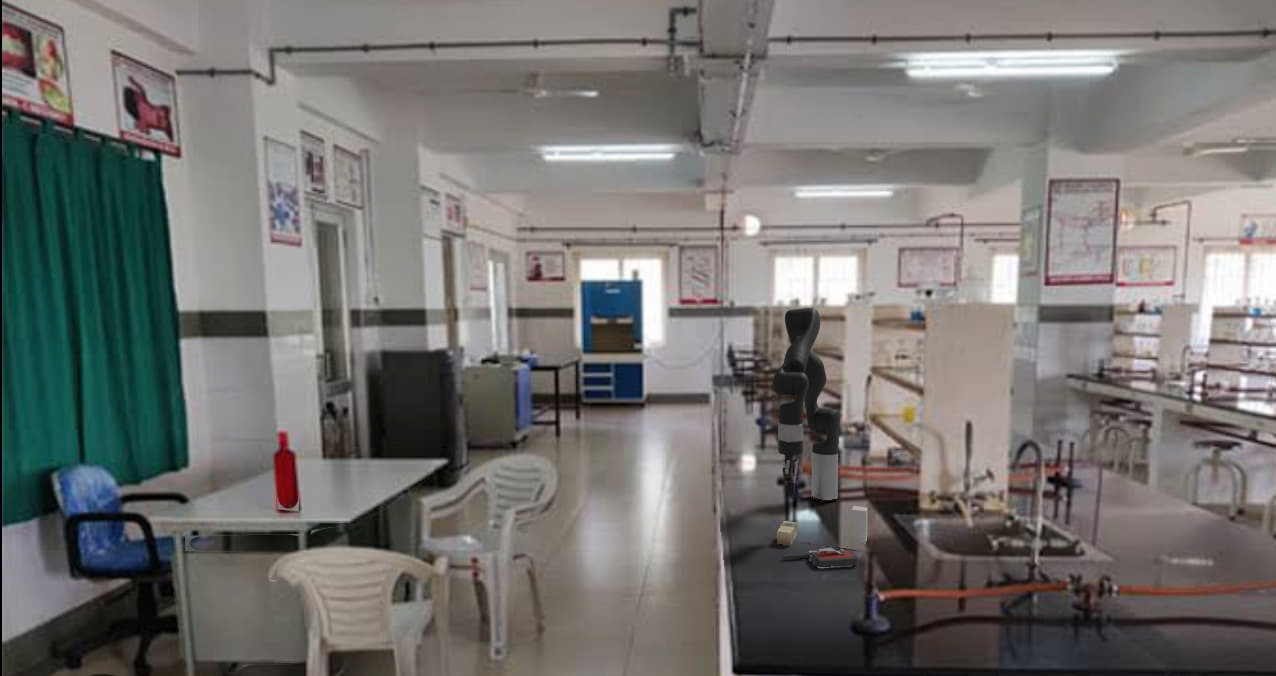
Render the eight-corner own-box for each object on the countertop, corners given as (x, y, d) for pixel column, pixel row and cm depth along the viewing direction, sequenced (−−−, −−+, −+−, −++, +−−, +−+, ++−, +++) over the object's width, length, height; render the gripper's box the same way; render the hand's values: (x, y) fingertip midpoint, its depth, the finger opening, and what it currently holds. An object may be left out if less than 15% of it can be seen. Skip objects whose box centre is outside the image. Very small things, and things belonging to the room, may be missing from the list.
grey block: (853, 538, 198) (853, 505, 197) (867, 540, 196) (867, 507, 196) (851, 542, 194) (852, 509, 193) (865, 544, 192) (866, 511, 192)
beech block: (784, 520, 202) (777, 530, 193) (797, 522, 200) (790, 532, 191) (783, 533, 202) (777, 544, 193) (797, 535, 200) (790, 546, 191)
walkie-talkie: (848, 556, 186) (780, 560, 183) (848, 540, 185) (780, 544, 182) (863, 568, 177) (792, 572, 174) (863, 552, 177) (792, 556, 174)
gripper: (782, 432, 206) (782, 486, 207) (773, 441, 194) (773, 498, 195) (806, 434, 203) (806, 489, 204) (799, 443, 191) (799, 501, 192)
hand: (790, 493), depth 199 cm, fingers closed
